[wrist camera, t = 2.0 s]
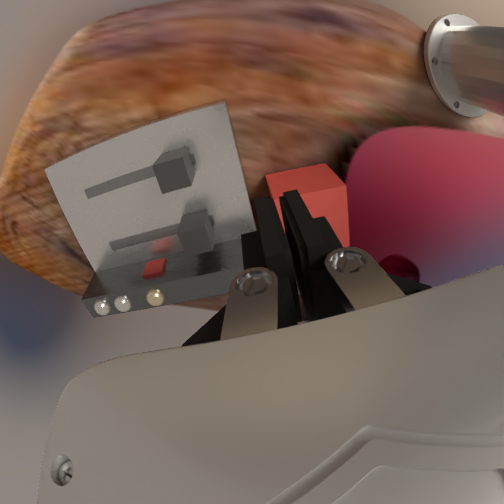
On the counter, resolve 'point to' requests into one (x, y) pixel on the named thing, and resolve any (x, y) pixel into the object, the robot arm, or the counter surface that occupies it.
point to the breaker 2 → (196, 233)
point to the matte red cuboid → (315, 195)
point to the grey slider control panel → (155, 211)
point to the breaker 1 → (174, 170)
